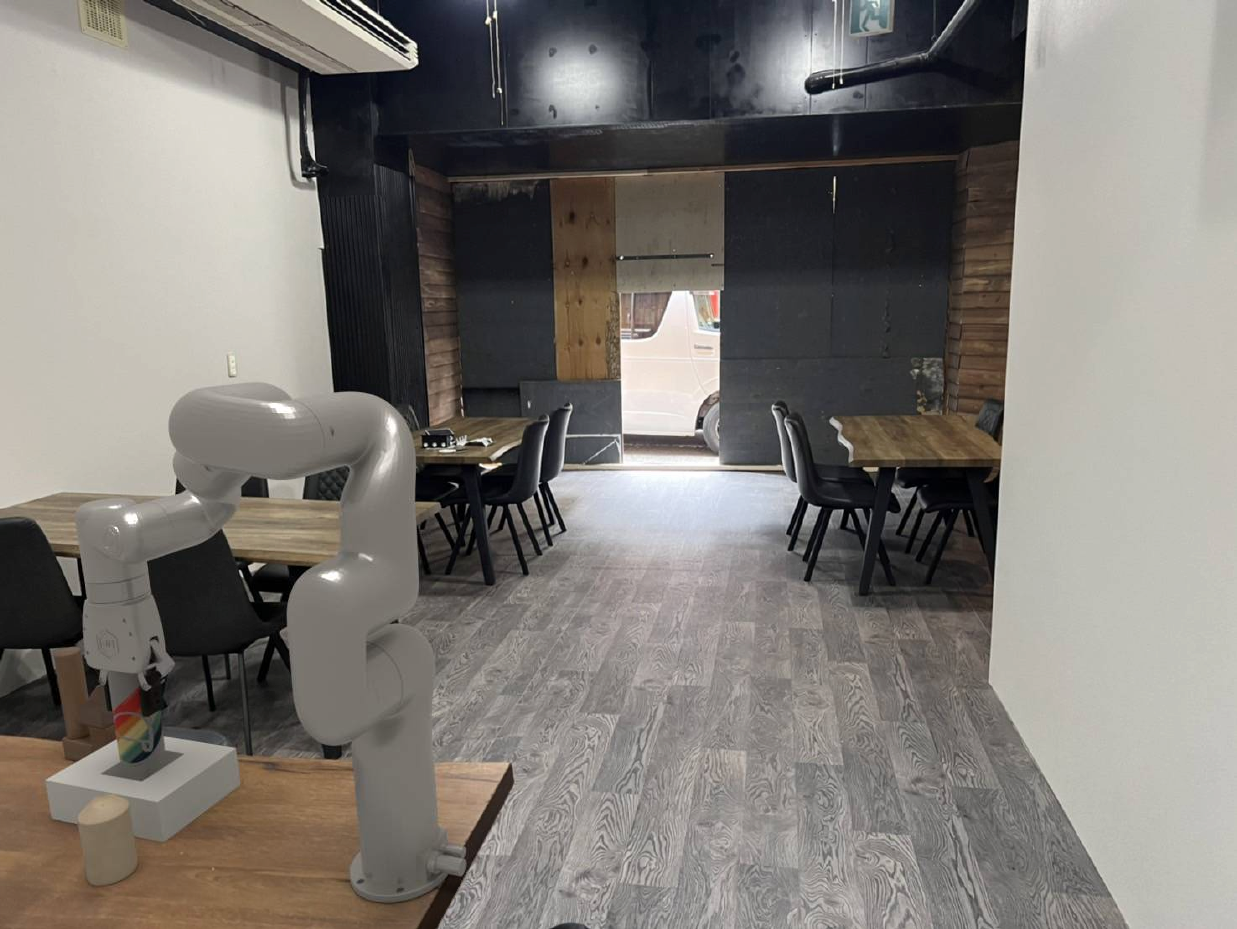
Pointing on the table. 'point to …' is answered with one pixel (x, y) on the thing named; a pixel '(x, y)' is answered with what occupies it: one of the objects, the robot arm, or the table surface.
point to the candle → (107, 840)
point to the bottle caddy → (149, 785)
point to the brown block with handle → (82, 708)
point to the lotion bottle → (134, 721)
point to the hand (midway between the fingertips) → (136, 708)
